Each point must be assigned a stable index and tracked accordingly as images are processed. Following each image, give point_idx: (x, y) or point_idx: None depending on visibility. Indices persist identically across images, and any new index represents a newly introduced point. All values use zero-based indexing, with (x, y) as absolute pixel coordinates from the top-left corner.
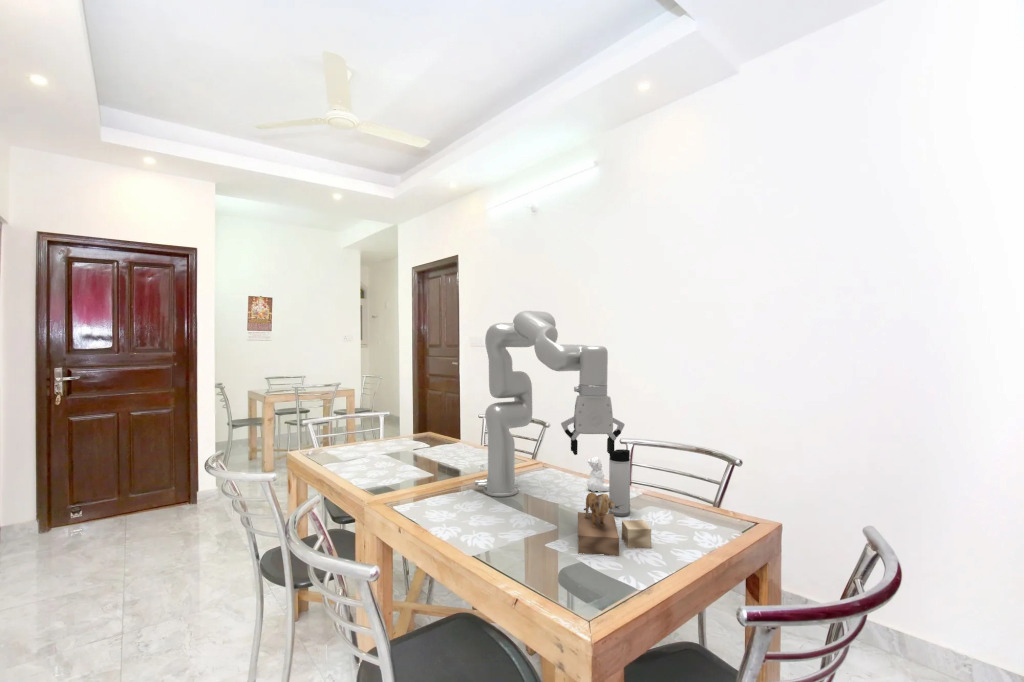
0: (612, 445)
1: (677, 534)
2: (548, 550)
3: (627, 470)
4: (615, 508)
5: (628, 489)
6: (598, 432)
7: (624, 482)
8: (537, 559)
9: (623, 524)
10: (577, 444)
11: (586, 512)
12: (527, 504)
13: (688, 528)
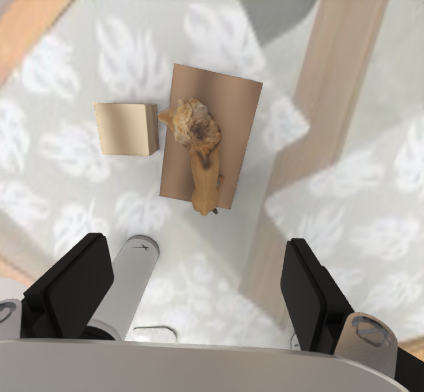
0: (55, 265)
1: (55, 159)
2: (309, 103)
3: None
4: (147, 246)
5: None
6: (108, 352)
7: None
8: (343, 62)
9: (149, 141)
10: (309, 281)
11: (219, 185)
12: None
13: (32, 183)
